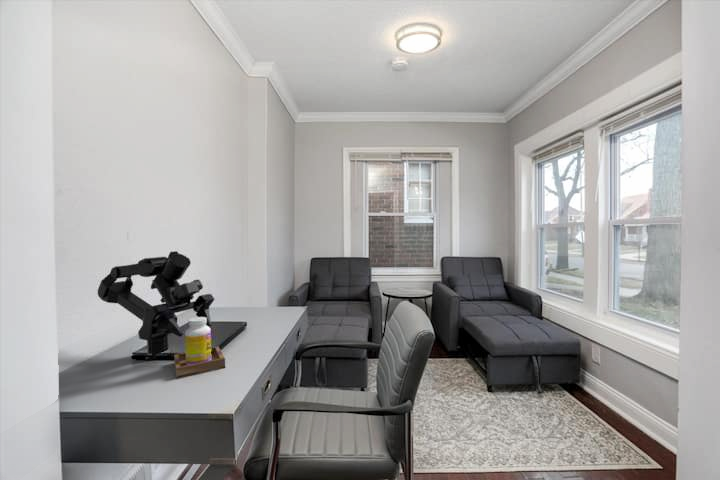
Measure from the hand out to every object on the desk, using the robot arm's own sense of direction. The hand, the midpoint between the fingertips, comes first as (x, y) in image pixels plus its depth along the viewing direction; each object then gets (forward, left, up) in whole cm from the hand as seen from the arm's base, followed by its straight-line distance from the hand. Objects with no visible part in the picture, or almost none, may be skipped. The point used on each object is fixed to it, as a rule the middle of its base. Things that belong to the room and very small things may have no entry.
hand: (196, 330), depth 94 cm
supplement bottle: (0, 0, -10) cm, 9 cm away
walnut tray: (+1, 0, -10) cm, 10 cm away
